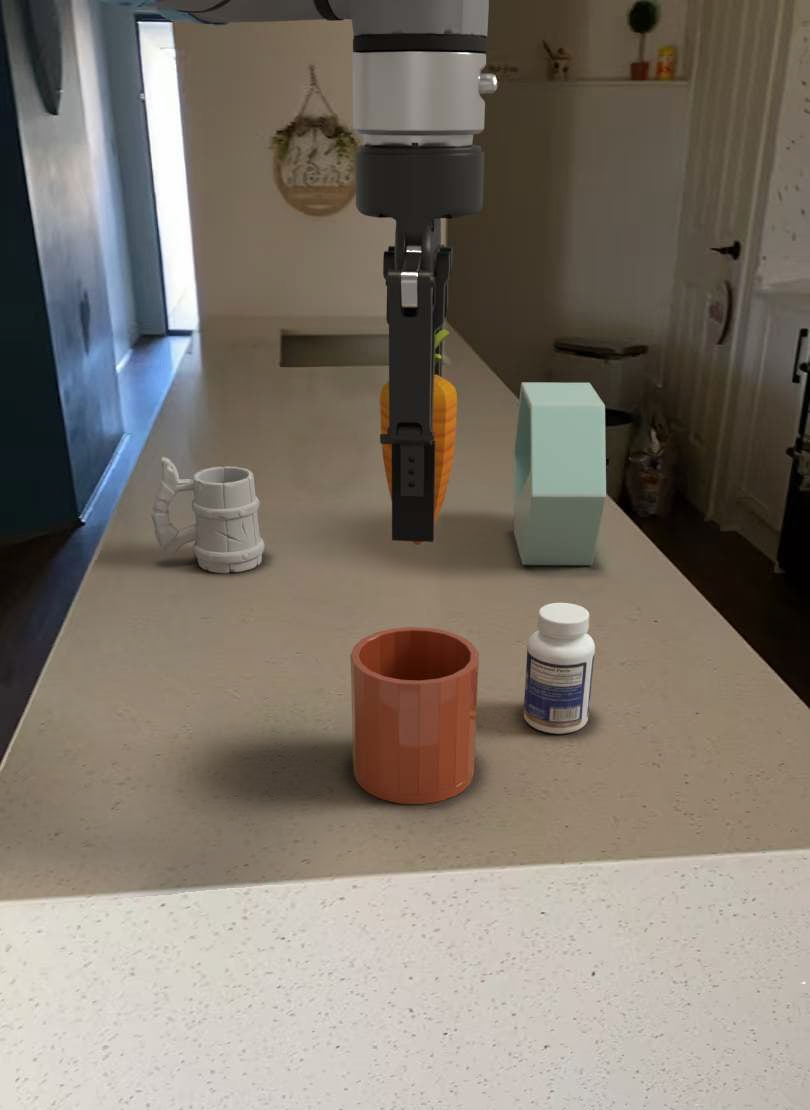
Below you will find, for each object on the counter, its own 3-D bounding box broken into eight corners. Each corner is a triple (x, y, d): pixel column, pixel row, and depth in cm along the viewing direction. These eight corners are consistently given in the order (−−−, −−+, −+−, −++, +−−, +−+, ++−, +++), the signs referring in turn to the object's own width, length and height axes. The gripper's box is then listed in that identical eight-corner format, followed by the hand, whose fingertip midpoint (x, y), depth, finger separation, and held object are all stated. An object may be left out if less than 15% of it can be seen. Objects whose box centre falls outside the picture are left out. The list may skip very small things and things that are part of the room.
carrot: (382, 531, 77) (381, 309, 70) (453, 532, 77) (458, 310, 70) (379, 557, 73) (377, 324, 65) (453, 558, 73) (460, 324, 65)
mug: (267, 572, 118) (261, 463, 112) (156, 579, 116) (144, 469, 111) (262, 546, 125) (256, 443, 119) (157, 553, 123) (145, 448, 117)
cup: (345, 801, 80) (342, 680, 75) (362, 736, 88) (360, 624, 83) (471, 808, 79) (476, 687, 74) (476, 742, 87) (480, 629, 82)
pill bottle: (542, 697, 94) (550, 593, 89) (599, 715, 91) (609, 609, 86) (510, 723, 90) (516, 615, 85) (568, 742, 87) (578, 632, 83)
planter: (514, 579, 128) (512, 408, 130) (580, 579, 128) (577, 408, 130) (532, 549, 112) (529, 352, 113) (607, 548, 112) (604, 352, 113)
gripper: (479, 147, 55) (465, 577, 66) (488, 136, 70) (476, 485, 82) (331, 146, 55) (343, 572, 67) (373, 135, 71) (377, 482, 82)
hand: (416, 524), depth 74 cm, fingers closed on carrot, 5 cm apart
